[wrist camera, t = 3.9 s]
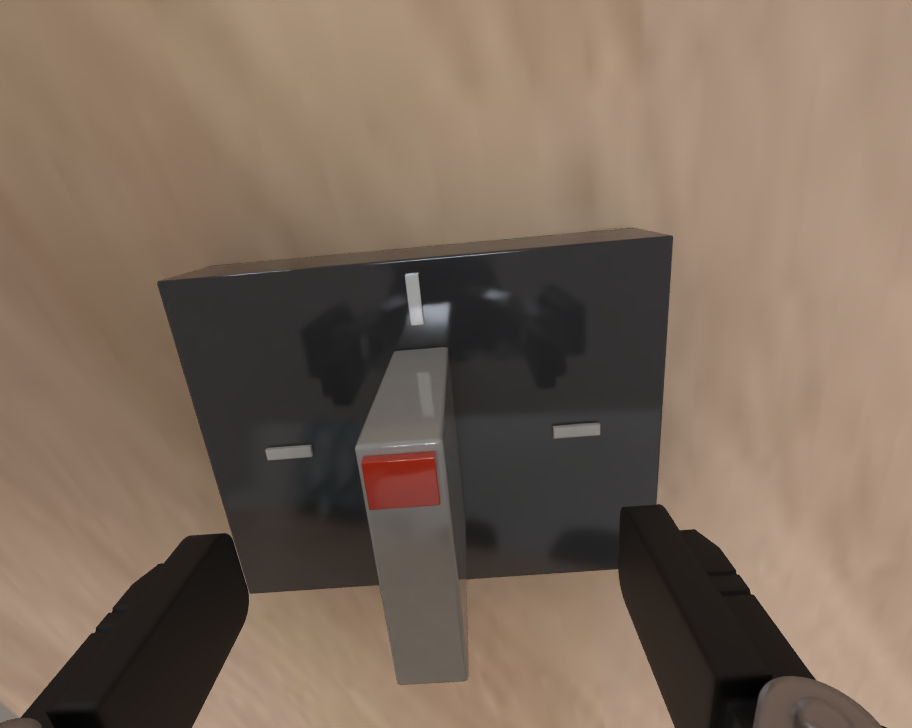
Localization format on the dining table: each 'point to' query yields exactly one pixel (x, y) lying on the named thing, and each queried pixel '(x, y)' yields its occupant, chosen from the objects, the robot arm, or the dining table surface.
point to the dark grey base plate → (474, 392)
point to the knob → (418, 516)
